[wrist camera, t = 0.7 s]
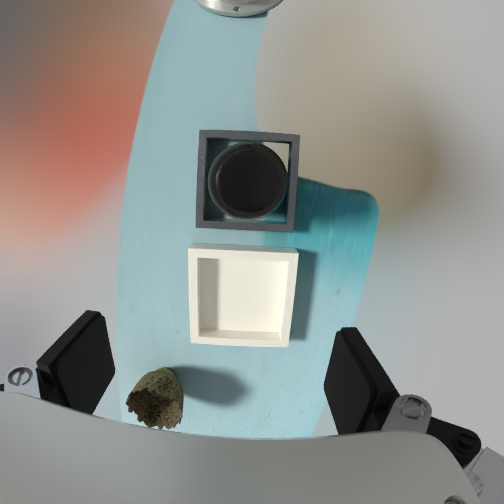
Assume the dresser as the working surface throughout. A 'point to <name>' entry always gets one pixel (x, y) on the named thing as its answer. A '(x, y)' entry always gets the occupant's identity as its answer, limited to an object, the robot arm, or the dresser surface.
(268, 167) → the supplement bottle
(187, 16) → the dresser surface
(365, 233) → the dresser surface
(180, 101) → the dresser surface
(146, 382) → the olive rounded textured piece
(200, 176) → the frame
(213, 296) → the white square tray
